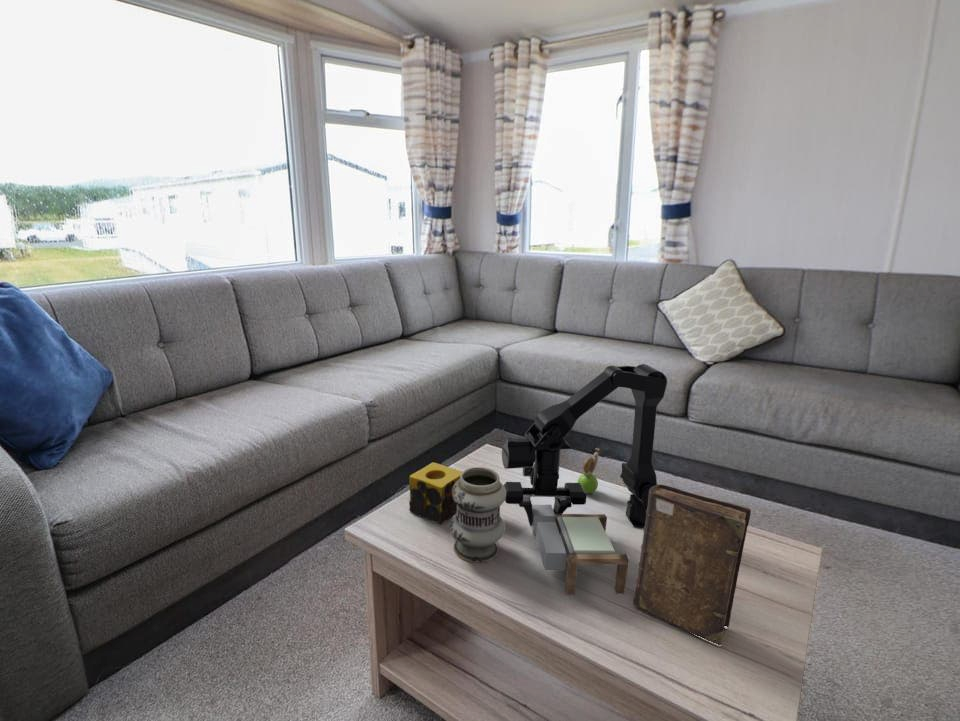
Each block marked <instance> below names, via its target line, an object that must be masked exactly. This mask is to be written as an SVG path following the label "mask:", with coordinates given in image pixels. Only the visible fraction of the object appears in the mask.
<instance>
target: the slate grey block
mask: <svg viewBox="0 0 960 721" xmlns="http://www.w3.org/2000/svg"><path fill="white" fill-rule="evenodd" d="M553 508H554V507H553V506H552V504H532V526H530V525H529V527H530V531H531V535H532V536H536V532H537V522H554V511H553Z"/></svg>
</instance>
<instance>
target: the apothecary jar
mask: <svg viewBox="0 0 960 721" xmlns="http://www.w3.org/2000/svg"><path fill="white" fill-rule="evenodd" d="M500 480H501V479H500V476H499V474H498V472H496V471H495V470H493V469H491V468H488V467H485V468H484V467H483V466H475V467H470V468H467V469H464V470H463V471H462V473H461V475H460V479H459V480H458V481H457V482H456V483H455V484H454V486H453V488H452V497H453V499H454V501H455V502H456V503H457V509H456V514H455V515H454V516H452V517H451V518H450V519H451V520H450V522H449V531H450V533H451V536H452V537H453V538H454V539H455V540H456V541H455V542H454V544H453V551H454V553H455V554H456V556H457V557H459V559H461V560H464V561H467V562H468V563H469V562H471V563H474V562H480V563H485V562H488V561H491V560H492V559H495V557H496V556H497V555H498V554H499V553H498V552H499V547H498V544H497V542H498V541H499V540H501V538H502V537H503V536H504V533H505V530H506V525H505V522H504V519H503V518H502V516H501V514H500V513H501V512H500V511H501V505H503V503H504V502H505V499H506V489H505V487H504V484H503V483H502V482H501V481H500Z"/></svg>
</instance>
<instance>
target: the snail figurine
mask: <svg viewBox="0 0 960 721" xmlns="http://www.w3.org/2000/svg"><path fill="white" fill-rule="evenodd" d="M595 450H596V451H595V452H594V453H593V457H592V456H591V457H587V458H586V459H585V460H584V463H583V465H582V466H583V467H582V470H583V472H584V473H582V474H581V475H580V476H579V477H578V479H577V483H580V484H581V485H582V487H583V489H584V491H585V493H586V495H587V494H589V495H590V494H593V493H594V492H596V490H597V489H598V486H599V480H598V478H597V477H596V476H595V475H594V474H593V473H594V472H595V470H596V467H597V465H598V458H599V455H600V453H599V452H600V451H601V449H600V448H598V447H596V448H595ZM597 451H598V452H597Z"/></svg>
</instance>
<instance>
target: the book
mask: <svg viewBox="0 0 960 721" xmlns="http://www.w3.org/2000/svg"><path fill="white" fill-rule="evenodd" d="M751 510H752V509H751V508H750V507H748V506H744V505H741V504H738V503H732V502H728V501H724V500H720V499H716V498H712V497H709V496H708V497H707V496H704V495H700V494H696V493H692V492H688V491H685V490H681V489H680V488H677V487H673V486H670V485H665V484H657V485H656V486H653V487H651V488H650V490H649V497H648V507H647V510H646V521H645V527H643V536H642V543H641V546H640V556H639V557H640V558H639V562H638V571H637V576H636V579H635V591H634V595H633V596H634V597H633V600H632V602H633V603H632V604H633V605H634V606H635V607H636V608H637V609H638V610H639V611H641V612H643V613H645V614H647V615H649V616H651V617H654V616H655V617H654V618H658V619H659V620H661V621H664V622H666V621H667V622H666V623H668V622H669V623H668V624H670V623H671V625H672V624H673V626H674V627H677V628H679V629H681V628H682V629H681V630H683V629H684V630H683V631H685V630H686V632H687V631H689V632H691V633H693V634H695V635H697V636H700V637H702V638H704V639H706V640H708V641H711V642H713V643H716V644H718V645H722V646H723V643H724V635H725V632H724V630H725V629H724V626H727V627H728V628H729V627H730V622H731V616H732V609H733V604H734V598H735V594H736V589H737V583H738V578H739V572H740V567H741V561H742V559H743V553H744V552H743V551H744V545H745V541H746V537H747V536H746V535H747V530H748V527H749V524H750V519H751V515H752V514H751V513H752V511H751ZM689 632H688V633H689ZM691 633H690V634H691ZM693 634H692V635H693ZM695 635H694V636H695Z"/></svg>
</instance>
